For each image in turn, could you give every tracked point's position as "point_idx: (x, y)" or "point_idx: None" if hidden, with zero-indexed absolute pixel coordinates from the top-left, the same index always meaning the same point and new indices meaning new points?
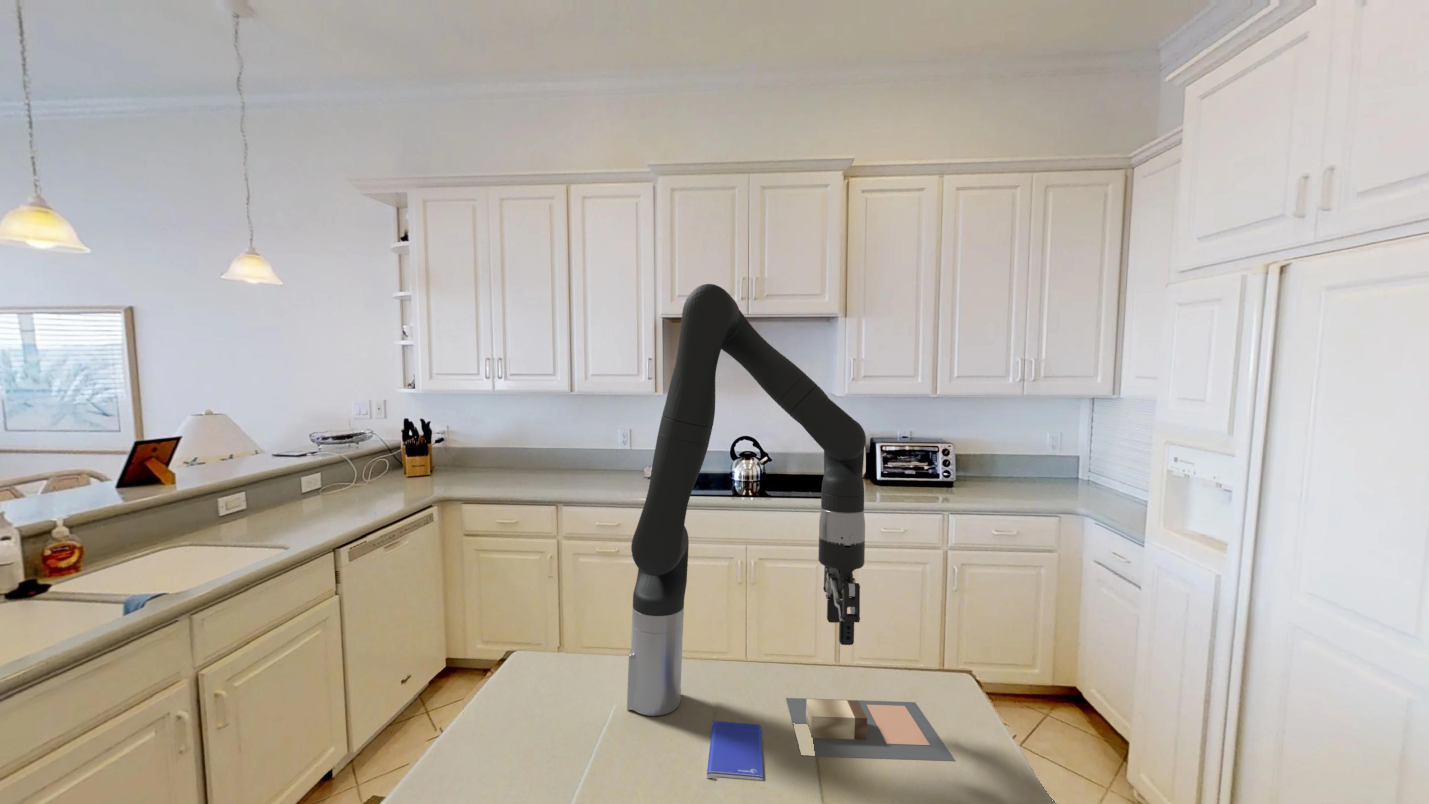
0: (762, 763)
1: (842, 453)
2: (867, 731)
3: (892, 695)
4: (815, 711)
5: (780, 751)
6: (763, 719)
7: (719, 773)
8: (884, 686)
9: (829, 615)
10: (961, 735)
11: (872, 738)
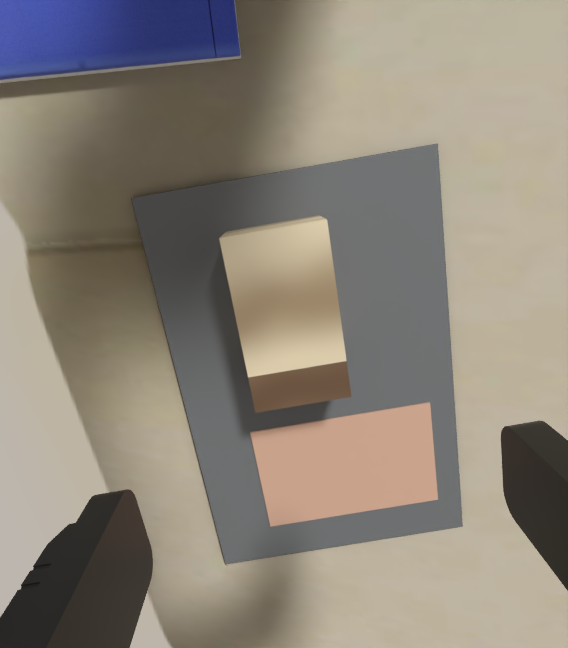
0: (43, 73)
1: None
2: None
3: (500, 474)
4: (253, 250)
5: (148, 133)
6: (303, 64)
7: None
8: None
9: (532, 463)
10: (338, 592)
11: None
